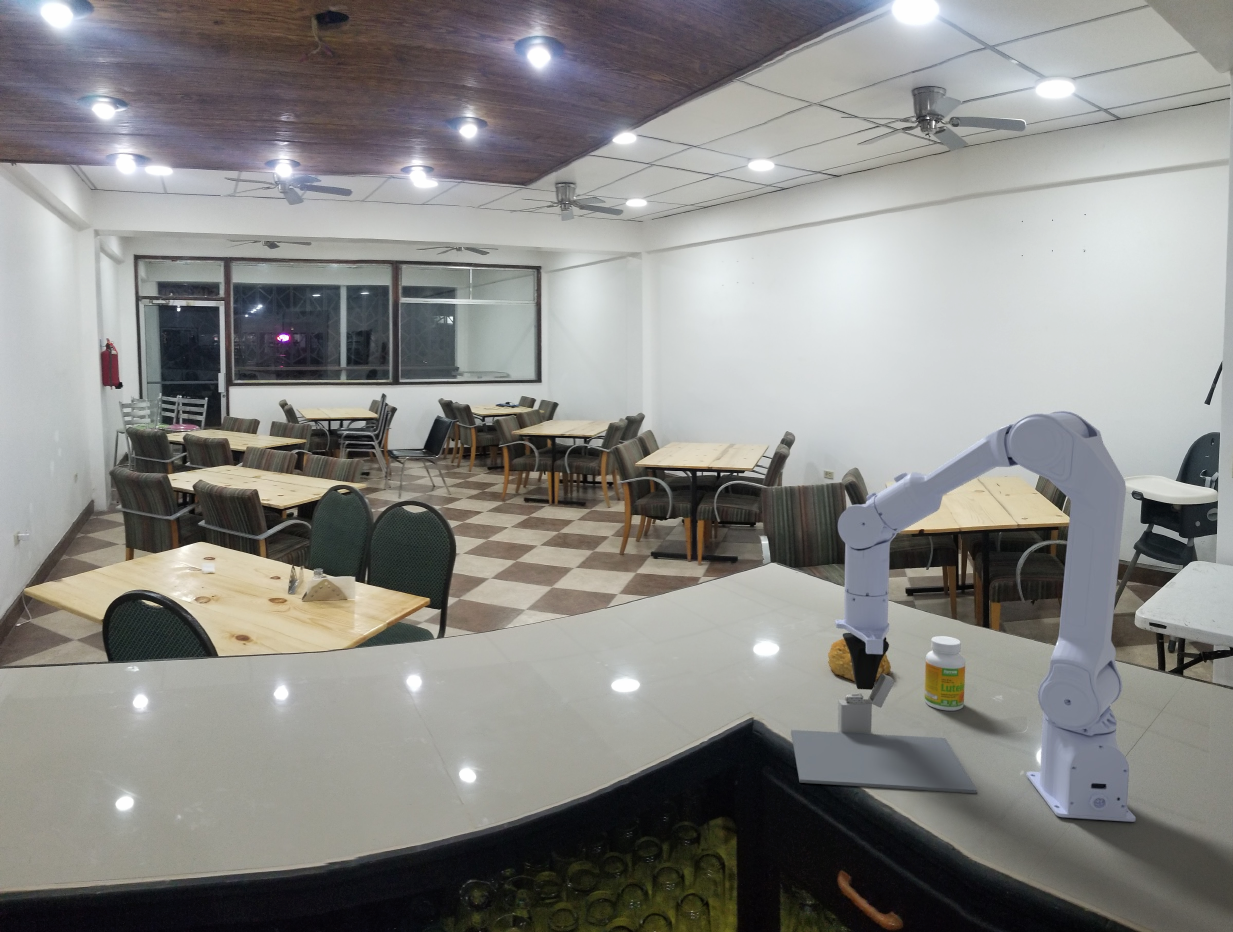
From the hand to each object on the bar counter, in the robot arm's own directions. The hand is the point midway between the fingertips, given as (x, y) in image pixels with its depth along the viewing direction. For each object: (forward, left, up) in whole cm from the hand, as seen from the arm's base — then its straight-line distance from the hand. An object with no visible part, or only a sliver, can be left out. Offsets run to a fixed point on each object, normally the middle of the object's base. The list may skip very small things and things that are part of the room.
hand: (864, 687), depth 108 cm
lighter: (-2, 0, -6) cm, 6 cm away
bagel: (+22, -3, -6) cm, 22 cm away
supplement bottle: (+9, -13, -6) cm, 17 cm away
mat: (-10, 0, -6) cm, 11 cm away
